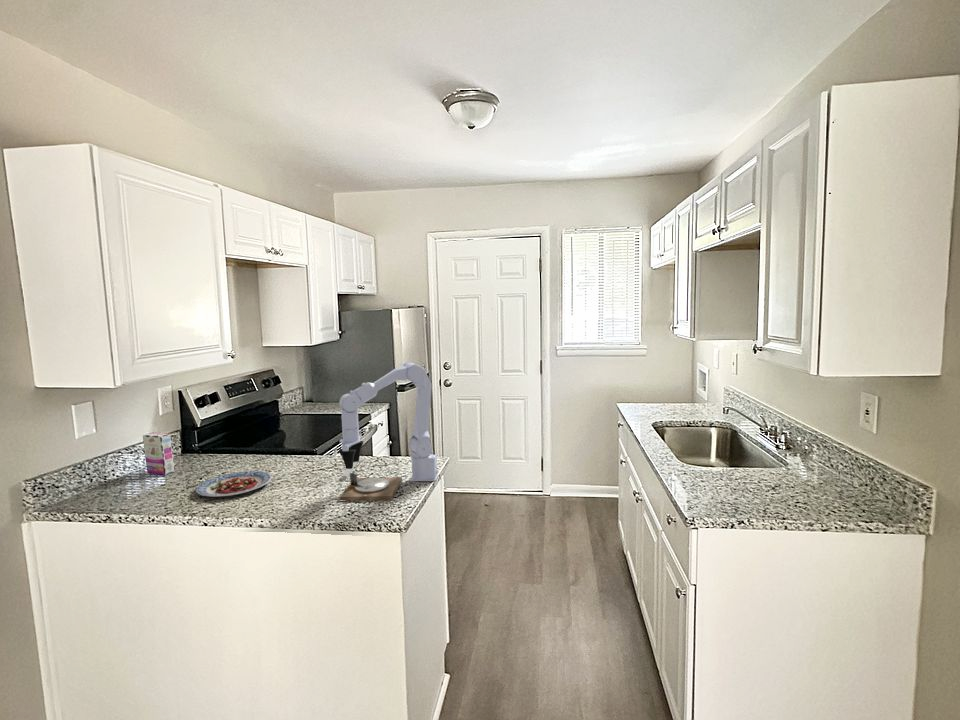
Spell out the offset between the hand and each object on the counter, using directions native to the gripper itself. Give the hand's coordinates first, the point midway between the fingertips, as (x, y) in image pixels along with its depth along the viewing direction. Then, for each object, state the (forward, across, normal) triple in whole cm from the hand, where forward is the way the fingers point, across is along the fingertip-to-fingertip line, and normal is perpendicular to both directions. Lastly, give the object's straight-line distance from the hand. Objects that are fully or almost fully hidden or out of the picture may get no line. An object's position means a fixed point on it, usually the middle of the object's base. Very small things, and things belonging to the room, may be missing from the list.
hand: (352, 465), depth 187 cm
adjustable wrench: (+10, -24, -9) cm, 27 cm away
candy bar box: (+11, -25, -89) cm, 93 cm away
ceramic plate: (+11, -6, -47) cm, 49 cm away
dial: (+8, 0, +7) cm, 10 cm away
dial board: (+10, 0, +7) cm, 12 cm away
